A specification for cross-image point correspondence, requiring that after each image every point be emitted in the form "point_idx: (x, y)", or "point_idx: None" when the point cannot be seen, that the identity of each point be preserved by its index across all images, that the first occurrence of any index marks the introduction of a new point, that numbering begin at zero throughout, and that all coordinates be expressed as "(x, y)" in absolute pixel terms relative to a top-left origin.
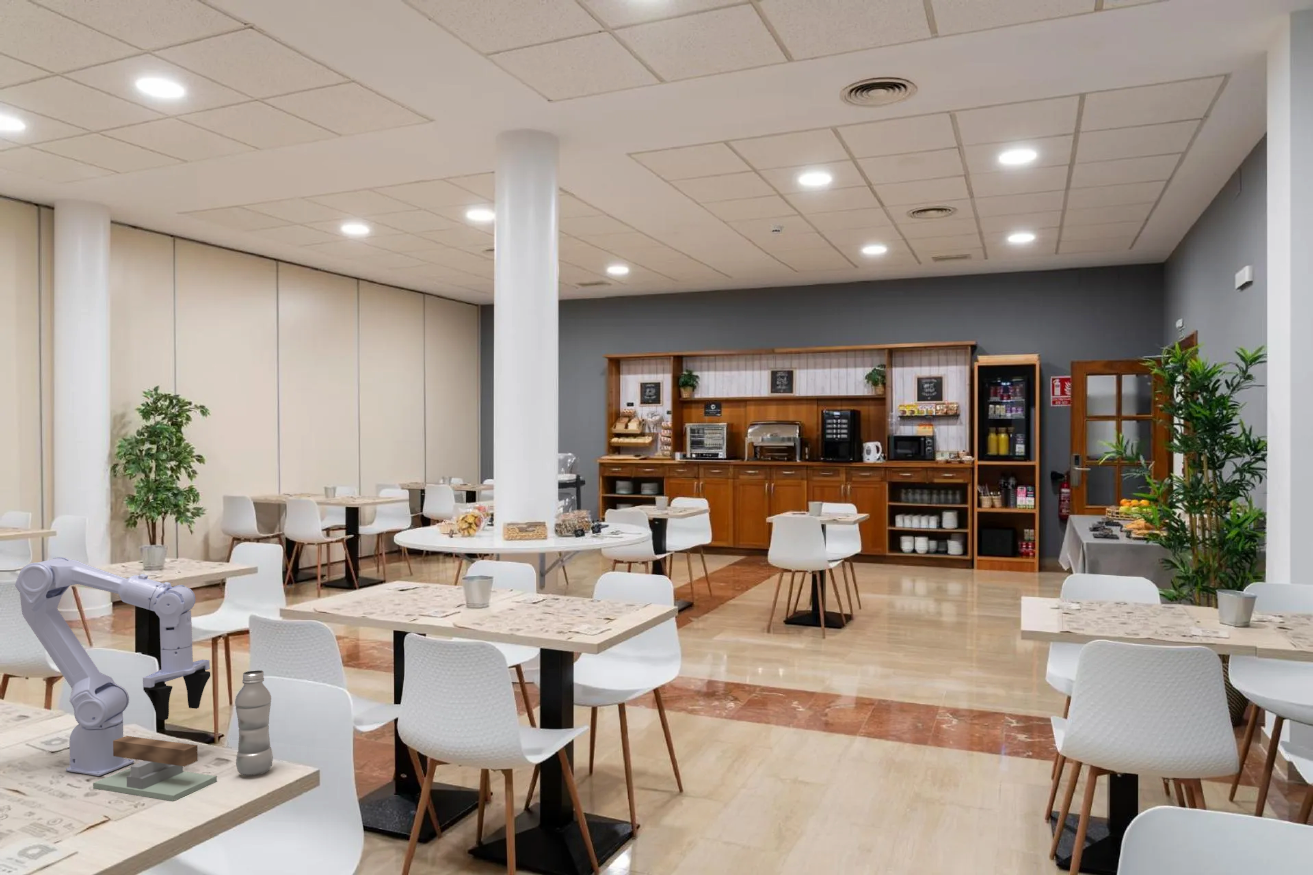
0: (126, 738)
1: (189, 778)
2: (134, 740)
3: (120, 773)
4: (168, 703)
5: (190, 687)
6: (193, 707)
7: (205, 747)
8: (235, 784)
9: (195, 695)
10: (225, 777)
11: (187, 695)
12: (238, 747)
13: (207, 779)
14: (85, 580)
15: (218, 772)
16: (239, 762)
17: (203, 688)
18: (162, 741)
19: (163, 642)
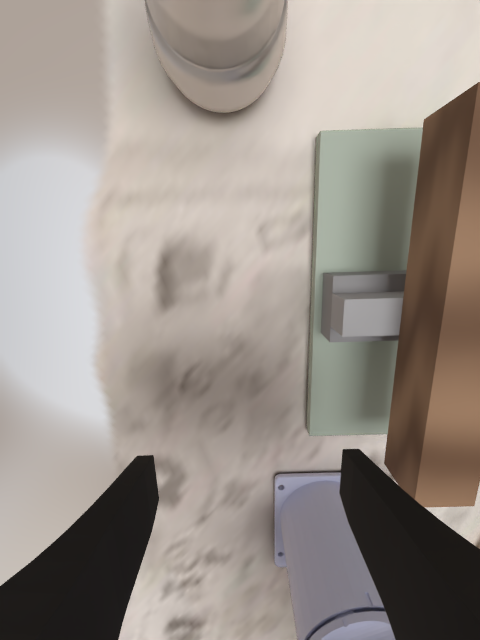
0: (442, 483)
1: (360, 206)
2: (458, 438)
3: (374, 425)
4: (401, 516)
5: (103, 637)
6: (154, 476)
7: (118, 406)
8: (321, 42)
9: (122, 532)
10: (281, 137)
11: (134, 581)
12: (274, 20)
13: (353, 137)
14: None
15: (254, 199)
16: (285, 34)
17: (50, 550)
18: (451, 318)
19: None
